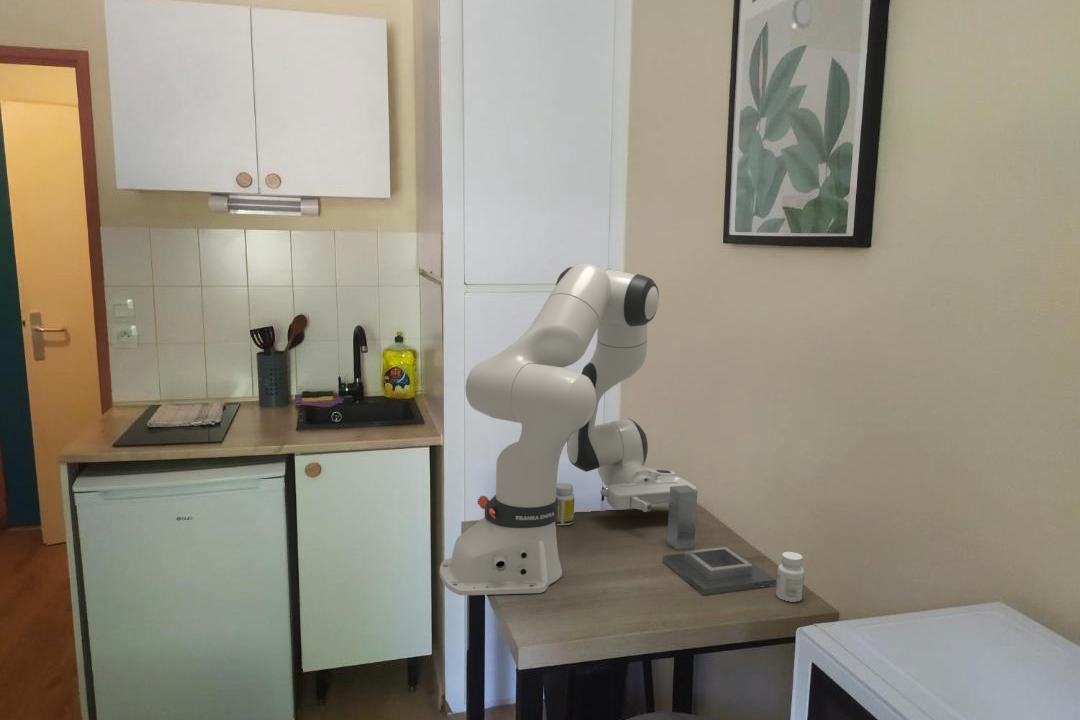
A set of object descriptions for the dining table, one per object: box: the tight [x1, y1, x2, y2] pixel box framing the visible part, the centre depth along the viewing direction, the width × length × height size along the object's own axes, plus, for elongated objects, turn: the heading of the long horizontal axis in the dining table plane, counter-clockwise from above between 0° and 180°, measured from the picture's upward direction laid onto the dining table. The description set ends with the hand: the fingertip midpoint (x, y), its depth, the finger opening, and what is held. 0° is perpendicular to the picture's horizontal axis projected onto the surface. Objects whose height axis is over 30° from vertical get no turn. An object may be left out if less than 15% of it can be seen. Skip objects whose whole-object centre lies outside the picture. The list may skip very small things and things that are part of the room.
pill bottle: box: [775, 551, 805, 603], centre depth 133 cm, size 4×4×8 cm
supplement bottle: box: [556, 482, 575, 525], centre depth 166 cm, size 5×5×8 cm
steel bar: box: [666, 485, 698, 551], centre depth 155 cm, size 4×4×12 cm
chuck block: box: [662, 546, 777, 597], centre depth 142 cm, size 15×15×3 cm
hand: (668, 506), depth 160 cm, fingers open, 8 cm apart
